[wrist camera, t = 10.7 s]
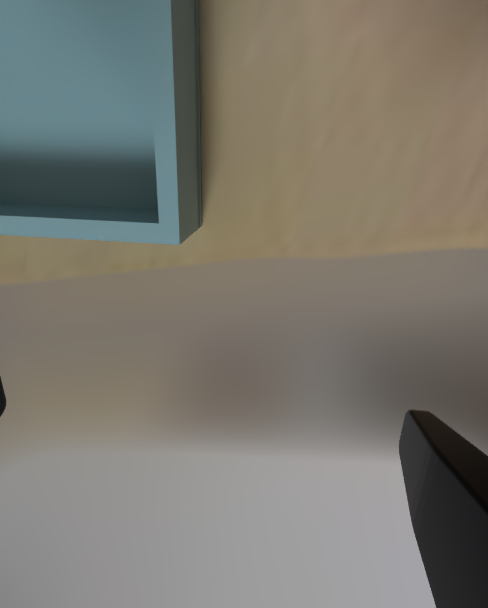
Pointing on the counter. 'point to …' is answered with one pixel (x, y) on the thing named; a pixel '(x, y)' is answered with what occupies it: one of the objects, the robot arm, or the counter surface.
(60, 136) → the bin
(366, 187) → the counter surface
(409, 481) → the robot arm
